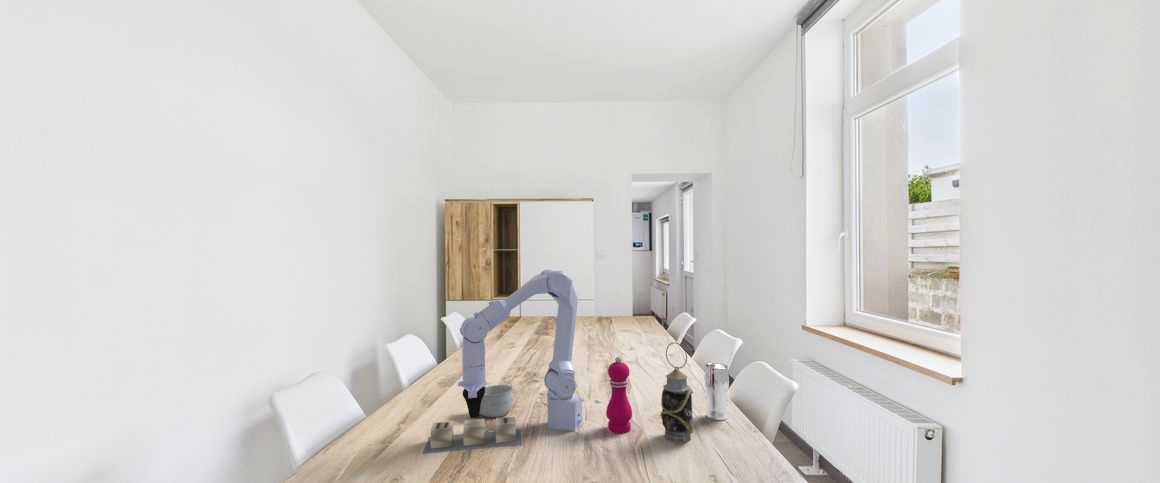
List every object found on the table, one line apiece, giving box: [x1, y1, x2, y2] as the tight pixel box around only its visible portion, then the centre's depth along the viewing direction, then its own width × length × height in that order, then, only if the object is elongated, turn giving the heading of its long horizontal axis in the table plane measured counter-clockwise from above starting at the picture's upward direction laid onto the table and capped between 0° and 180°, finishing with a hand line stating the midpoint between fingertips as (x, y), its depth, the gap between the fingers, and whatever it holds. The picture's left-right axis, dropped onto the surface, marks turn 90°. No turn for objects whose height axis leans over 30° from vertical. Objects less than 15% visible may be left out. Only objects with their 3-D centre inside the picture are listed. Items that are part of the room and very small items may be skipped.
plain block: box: [463, 418, 486, 446], centre depth 117 cm, size 5×5×4 cm
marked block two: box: [430, 421, 455, 448], centre depth 115 cm, size 5×5×5 cm
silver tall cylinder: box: [703, 362, 730, 421], centre depth 134 cm, size 7×7×15 cm
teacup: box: [479, 383, 514, 419], centre depth 138 cm, size 14×11×8 cm
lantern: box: [660, 342, 694, 444], centre depth 119 cm, size 9×8×25 cm
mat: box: [422, 429, 523, 454], centre depth 117 cm, size 24×10×1 cm, turn 100°
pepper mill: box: [605, 356, 633, 434], centre depth 125 cm, size 7×7×20 cm
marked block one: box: [495, 416, 517, 443], centre depth 118 cm, size 5×5×5 cm
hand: (474, 417), depth 117 cm, fingers closed
